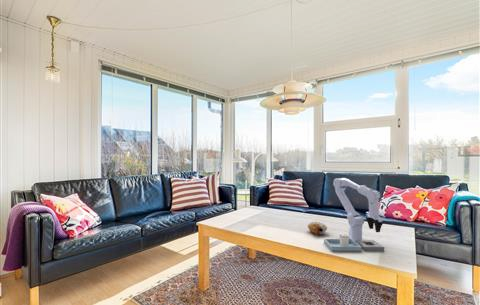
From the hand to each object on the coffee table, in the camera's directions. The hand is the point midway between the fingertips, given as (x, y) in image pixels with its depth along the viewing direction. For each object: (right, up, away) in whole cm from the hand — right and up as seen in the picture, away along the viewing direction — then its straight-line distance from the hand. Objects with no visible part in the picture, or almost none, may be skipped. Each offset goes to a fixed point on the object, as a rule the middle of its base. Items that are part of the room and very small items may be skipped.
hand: (374, 230), depth 155 cm
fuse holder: (-6, -9, -4) cm, 12 cm away
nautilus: (-30, -11, +24) cm, 40 cm away
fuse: (-21, -9, -4) cm, 23 cm away
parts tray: (-23, -10, -4) cm, 25 cm away
